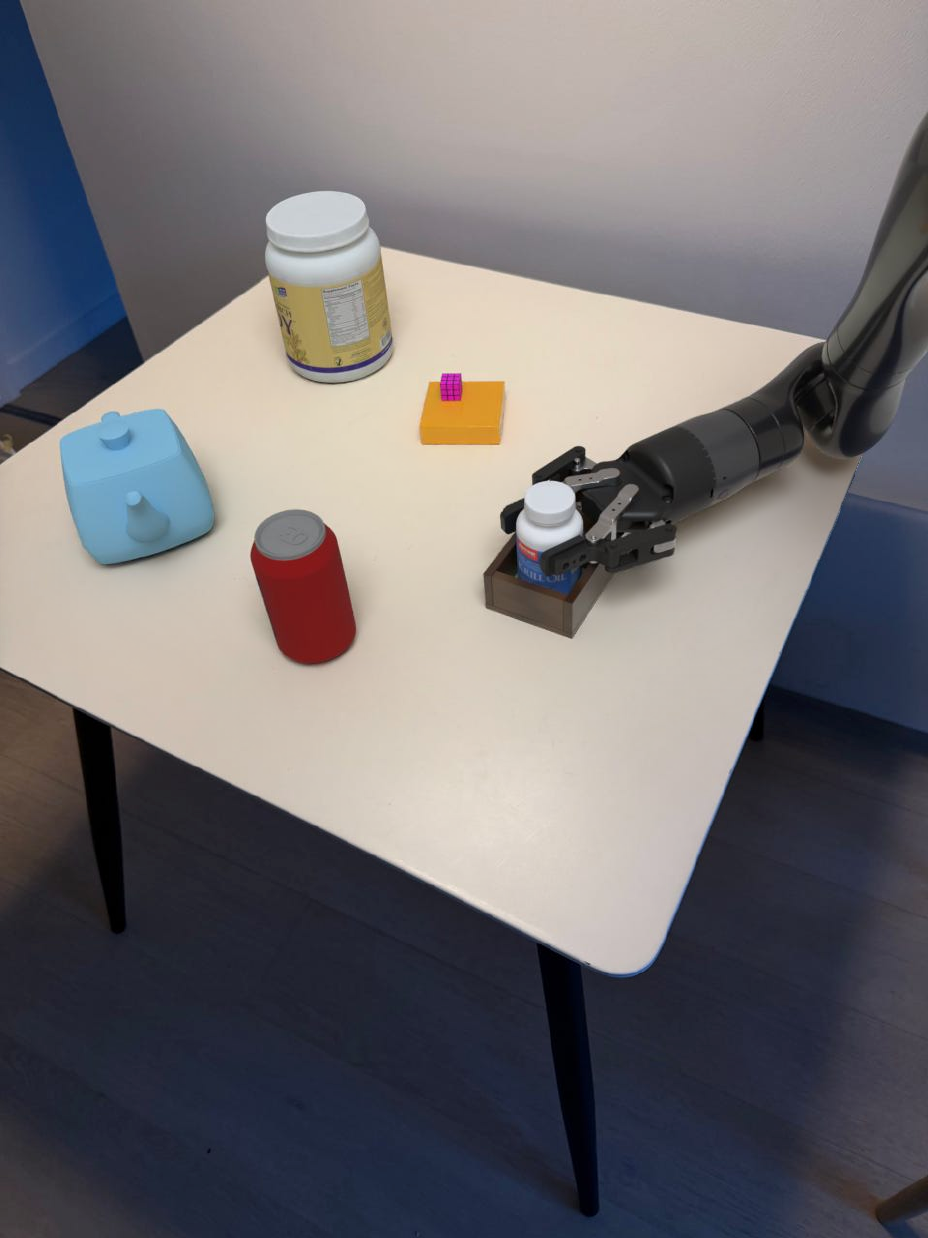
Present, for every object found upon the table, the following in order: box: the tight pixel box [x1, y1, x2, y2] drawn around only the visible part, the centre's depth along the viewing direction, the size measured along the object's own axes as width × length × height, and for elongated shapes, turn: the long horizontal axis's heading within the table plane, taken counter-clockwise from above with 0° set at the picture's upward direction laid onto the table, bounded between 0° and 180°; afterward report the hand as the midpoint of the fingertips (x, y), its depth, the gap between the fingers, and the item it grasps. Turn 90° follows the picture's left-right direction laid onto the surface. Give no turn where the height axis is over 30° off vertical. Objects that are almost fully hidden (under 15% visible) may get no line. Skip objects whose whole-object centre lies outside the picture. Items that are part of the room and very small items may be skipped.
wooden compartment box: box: [482, 489, 634, 639], centre depth 85 cm, size 8×15×4 cm, turn 150°
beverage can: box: [249, 508, 357, 664], centre depth 79 cm, size 7×7×12 cm
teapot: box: [59, 408, 215, 565], centre depth 90 cm, size 12×18×12 cm
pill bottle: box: [516, 480, 583, 595], centre depth 81 cm, size 6×5×10 cm
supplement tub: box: [264, 190, 394, 384], centre depth 107 cm, size 12×12×17 cm
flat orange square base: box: [419, 372, 507, 445], centre depth 101 cm, size 8×8×4 cm
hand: (523, 544), depth 79 cm, fingers closed on pill bottle, 5 cm apart
